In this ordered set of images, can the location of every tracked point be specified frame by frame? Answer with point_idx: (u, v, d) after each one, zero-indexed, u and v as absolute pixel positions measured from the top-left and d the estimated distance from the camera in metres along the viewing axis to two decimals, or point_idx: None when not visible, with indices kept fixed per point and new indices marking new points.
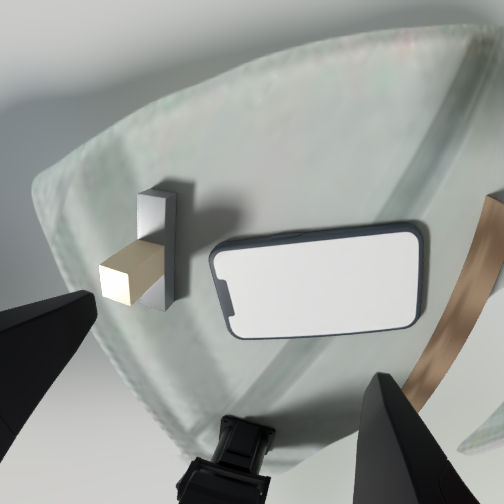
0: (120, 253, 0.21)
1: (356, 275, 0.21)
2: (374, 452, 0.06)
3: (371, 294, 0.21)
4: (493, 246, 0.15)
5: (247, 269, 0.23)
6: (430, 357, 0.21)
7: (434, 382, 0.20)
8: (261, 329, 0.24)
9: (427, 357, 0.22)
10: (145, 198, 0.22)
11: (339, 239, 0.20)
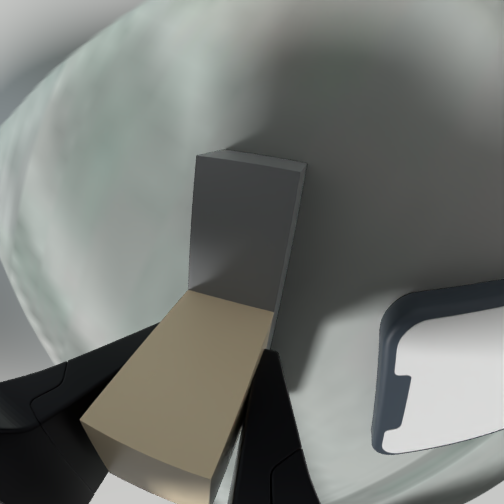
0: (147, 353, 0.06)
1: None
2: (242, 428, 0.06)
3: None
4: None
5: (463, 352, 0.08)
6: None
7: None
8: (434, 438, 0.10)
9: None
10: (224, 170, 0.07)
11: None
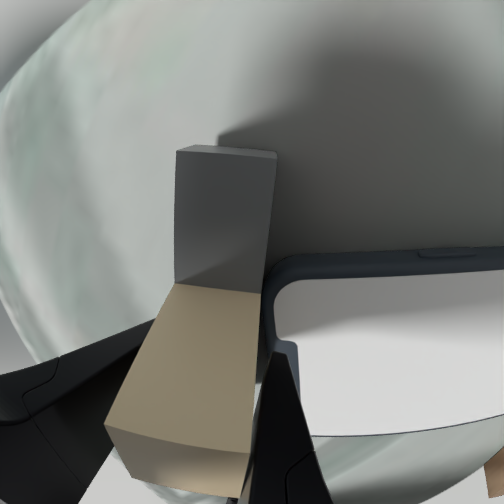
0: (153, 348, 0.06)
1: None
2: (252, 431, 0.06)
3: None
4: None
5: (354, 324, 0.09)
6: None
7: None
8: (345, 425, 0.11)
9: None
10: (204, 162, 0.07)
11: None
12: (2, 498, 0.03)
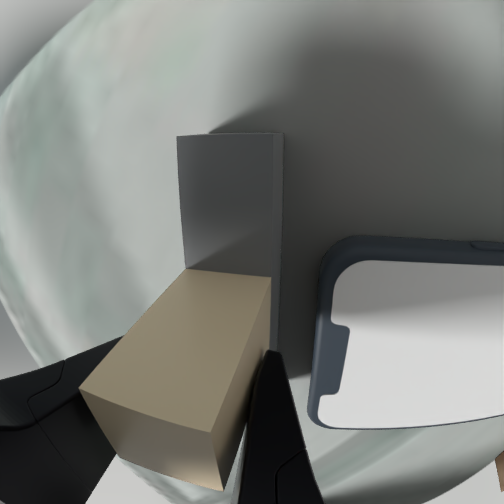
0: (146, 324, 0.06)
1: None
2: (245, 429, 0.06)
3: None
4: None
5: (410, 310, 0.09)
6: None
7: None
8: (377, 417, 0.11)
9: None
10: (203, 144, 0.07)
11: None
12: (8, 503, 0.02)
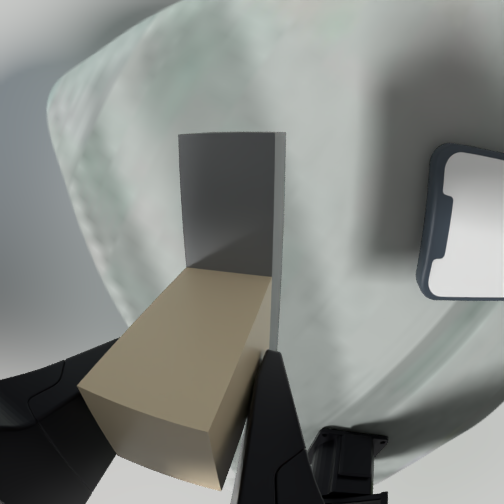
0: (146, 322, 0.06)
1: None
2: (245, 429, 0.06)
3: None
4: None
5: (484, 187, 0.12)
6: None
7: None
8: (466, 284, 0.14)
9: None
10: (205, 143, 0.07)
11: None
12: None
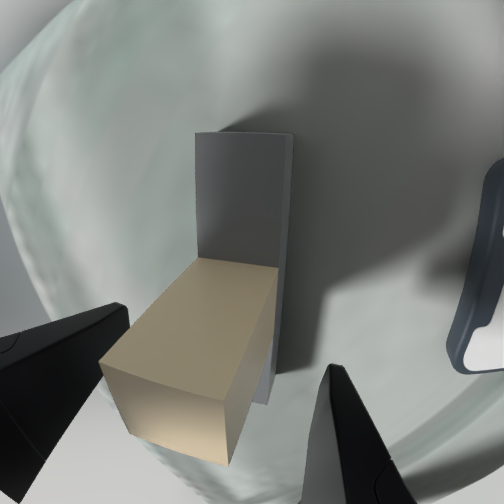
0: (163, 305, 0.07)
1: None
2: (319, 445, 0.06)
3: None
4: None
5: None
6: None
7: None
8: None
9: None
10: (220, 142, 0.08)
11: None
12: None
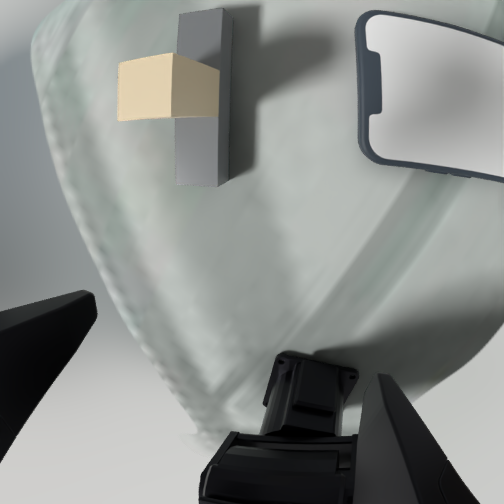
0: None
1: None
2: (374, 452, 0.06)
3: None
4: None
5: (414, 45, 0.11)
6: None
7: None
8: (416, 146, 0.13)
9: None
10: (191, 16, 0.12)
11: None
12: None
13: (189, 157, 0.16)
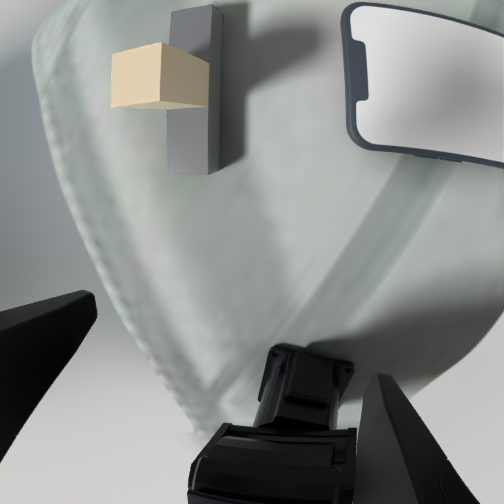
0: None
1: None
2: (374, 452, 0.06)
3: None
4: None
5: (398, 34, 0.11)
6: None
7: None
8: (404, 130, 0.13)
9: None
10: (182, 13, 0.13)
11: (498, 37, 0.09)
12: None
13: (180, 147, 0.16)
